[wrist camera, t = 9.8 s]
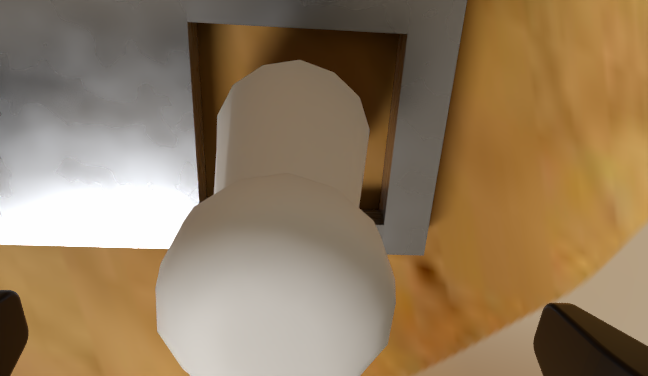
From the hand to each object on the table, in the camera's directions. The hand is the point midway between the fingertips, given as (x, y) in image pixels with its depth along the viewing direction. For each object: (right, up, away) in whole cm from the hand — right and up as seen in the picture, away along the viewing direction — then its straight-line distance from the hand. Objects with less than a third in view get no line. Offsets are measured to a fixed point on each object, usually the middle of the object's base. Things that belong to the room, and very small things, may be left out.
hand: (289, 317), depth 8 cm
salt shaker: (-1, +5, +11) cm, 13 cm away
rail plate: (-5, +5, +11) cm, 13 cm away
